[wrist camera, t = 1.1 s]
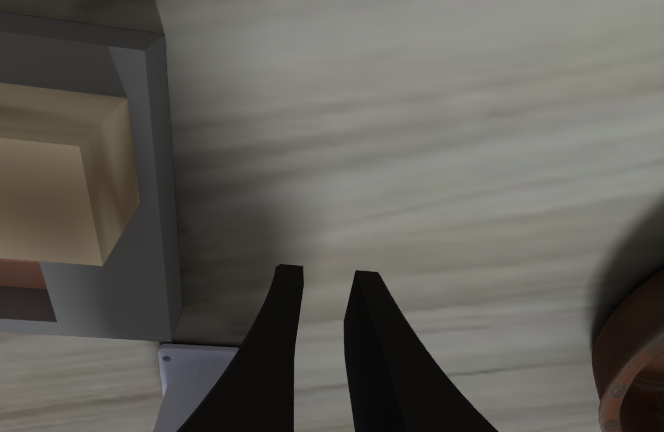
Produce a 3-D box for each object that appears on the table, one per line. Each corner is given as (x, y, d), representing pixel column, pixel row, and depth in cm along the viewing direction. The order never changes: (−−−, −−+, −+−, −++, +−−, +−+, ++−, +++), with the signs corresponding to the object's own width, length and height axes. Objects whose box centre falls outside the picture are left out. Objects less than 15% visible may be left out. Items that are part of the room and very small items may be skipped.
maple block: (139, 202, 18) (102, 266, 15) (24, 191, 18) (-41, 255, 14) (127, 98, 16) (79, 146, 12) (-8, 81, 15) (-96, 127, 12)
